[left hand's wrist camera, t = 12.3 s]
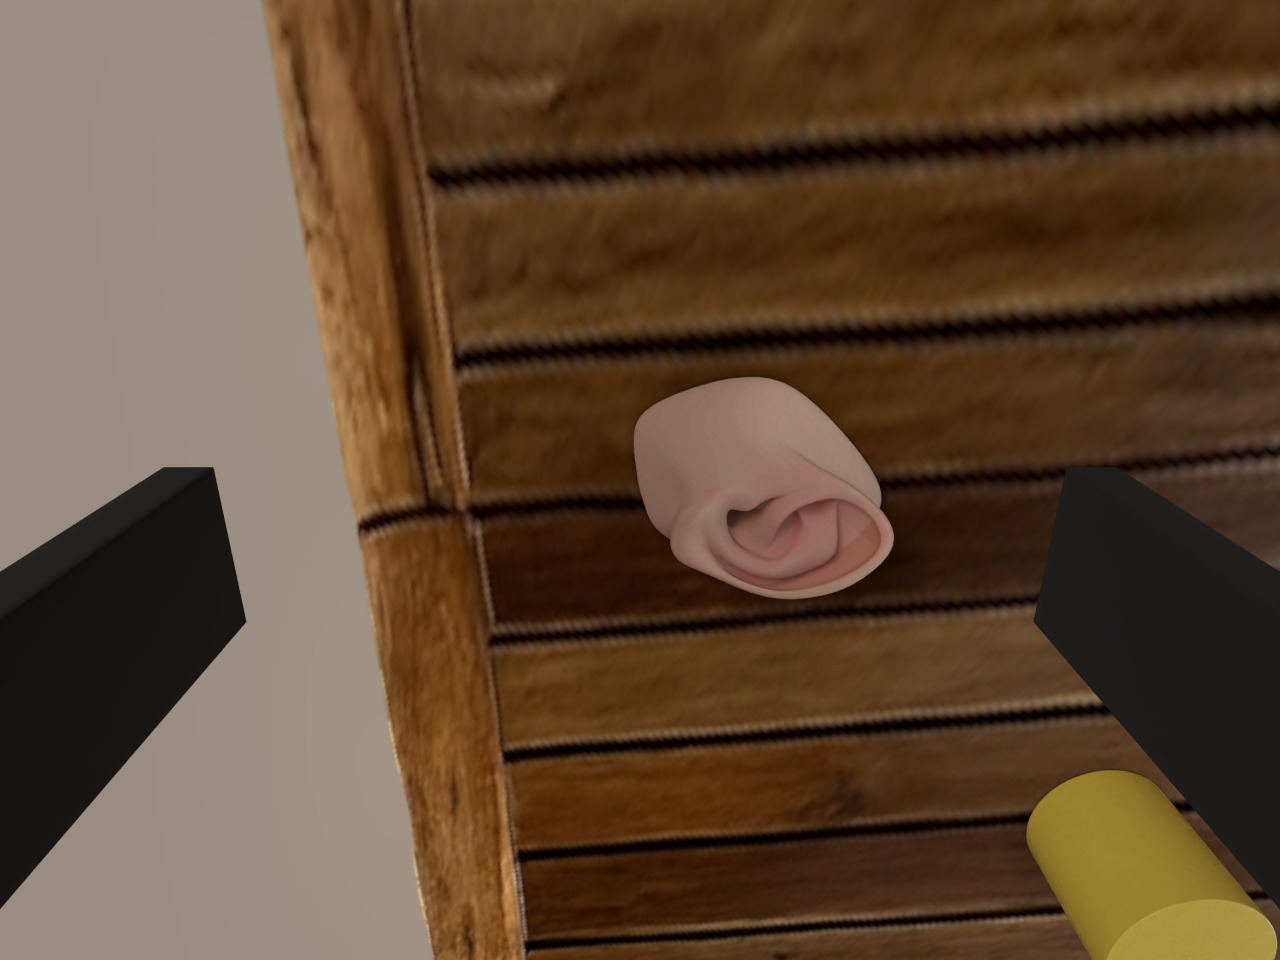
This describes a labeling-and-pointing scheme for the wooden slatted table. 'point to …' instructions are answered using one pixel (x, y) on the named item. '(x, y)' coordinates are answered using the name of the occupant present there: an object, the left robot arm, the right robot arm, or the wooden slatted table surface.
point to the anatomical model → (760, 489)
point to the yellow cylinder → (1141, 875)
